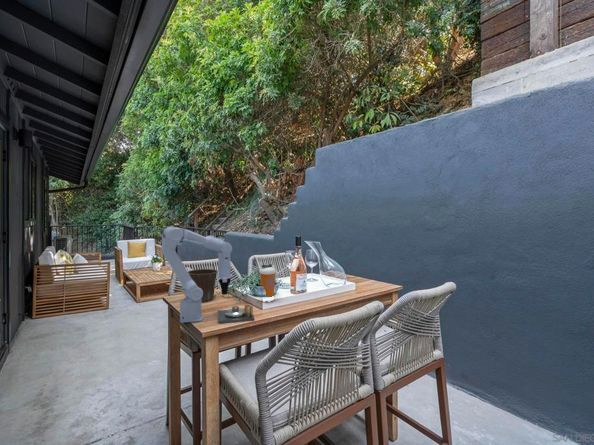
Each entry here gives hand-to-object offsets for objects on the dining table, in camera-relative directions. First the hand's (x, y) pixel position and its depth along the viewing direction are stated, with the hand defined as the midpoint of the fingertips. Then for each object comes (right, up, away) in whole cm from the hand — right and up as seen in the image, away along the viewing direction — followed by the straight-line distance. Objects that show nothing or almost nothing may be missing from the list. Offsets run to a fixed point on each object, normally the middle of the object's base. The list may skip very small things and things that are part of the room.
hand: (224, 294), depth 157 cm
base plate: (+6, -10, -5) cm, 12 cm away
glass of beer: (+19, -9, +22) cm, 30 cm away
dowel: (+13, -8, -9) cm, 18 cm away
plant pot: (-18, -9, +25) cm, 32 cm away
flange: (+8, -8, -6) cm, 13 cm away
